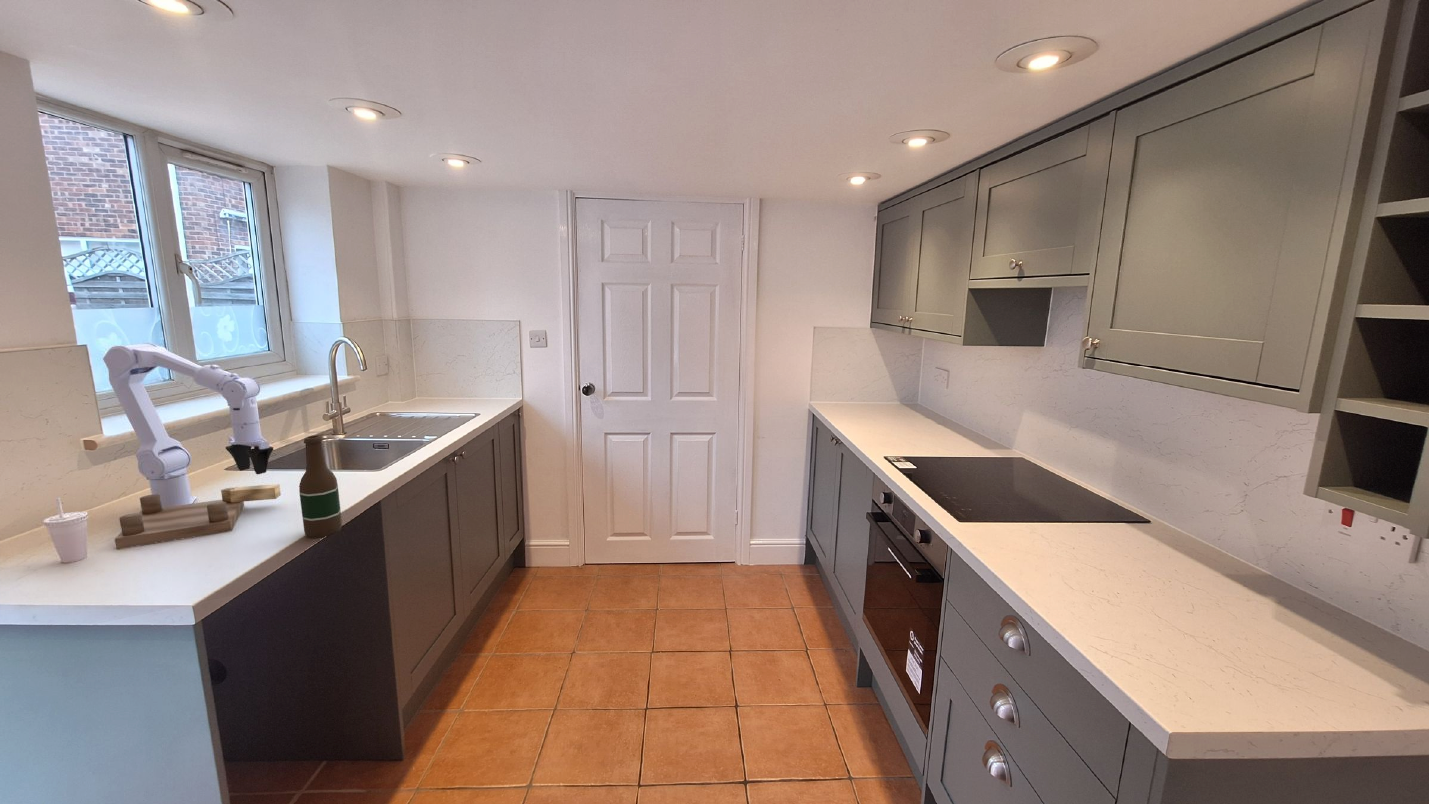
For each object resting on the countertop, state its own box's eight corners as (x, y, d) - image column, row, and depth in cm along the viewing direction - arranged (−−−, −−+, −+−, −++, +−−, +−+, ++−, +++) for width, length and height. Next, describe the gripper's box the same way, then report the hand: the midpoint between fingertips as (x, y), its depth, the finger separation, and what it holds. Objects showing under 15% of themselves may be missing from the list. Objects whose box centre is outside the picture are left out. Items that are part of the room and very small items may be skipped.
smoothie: (47, 561, 120) (33, 499, 118) (90, 550, 126) (78, 490, 123) (57, 568, 117) (44, 504, 115) (101, 556, 123) (89, 495, 120)
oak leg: (220, 503, 148) (218, 491, 147) (226, 499, 151) (224, 487, 150) (275, 498, 151) (274, 487, 151) (280, 495, 154) (279, 483, 154)
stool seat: (143, 519, 143) (139, 495, 142) (244, 505, 154) (241, 482, 152) (116, 549, 126) (111, 522, 125) (231, 530, 137) (228, 505, 136)
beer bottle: (301, 531, 137) (289, 436, 133) (338, 523, 143) (327, 431, 138) (308, 541, 132) (296, 442, 128) (347, 531, 137) (336, 436, 133)
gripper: (212, 423, 149) (219, 472, 152) (244, 428, 144) (251, 479, 146) (243, 418, 155) (249, 465, 158) (275, 423, 150) (281, 471, 152)
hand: (252, 471), depth 152 cm, fingers open, 7 cm apart
